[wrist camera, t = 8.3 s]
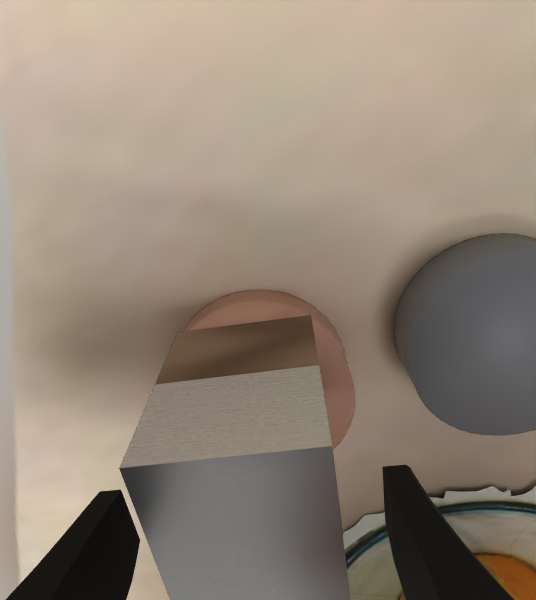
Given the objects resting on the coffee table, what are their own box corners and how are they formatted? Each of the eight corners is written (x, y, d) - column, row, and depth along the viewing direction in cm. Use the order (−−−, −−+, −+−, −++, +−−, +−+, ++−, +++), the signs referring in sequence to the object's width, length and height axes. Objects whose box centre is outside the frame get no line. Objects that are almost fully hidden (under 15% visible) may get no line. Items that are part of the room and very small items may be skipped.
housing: (310, 314, 14) (331, 446, 9) (329, 463, 17) (354, 634, 12) (177, 332, 15) (119, 468, 9) (216, 474, 17) (188, 646, 12)
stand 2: (592, 221, 15) (647, 242, 13) (565, 385, 18) (606, 425, 16) (391, 247, 16) (410, 271, 14) (395, 402, 19) (412, 444, 17)
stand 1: (338, 279, 17) (348, 308, 14) (350, 425, 19) (360, 468, 17) (158, 301, 17) (139, 332, 15) (195, 440, 20) (185, 484, 18)
